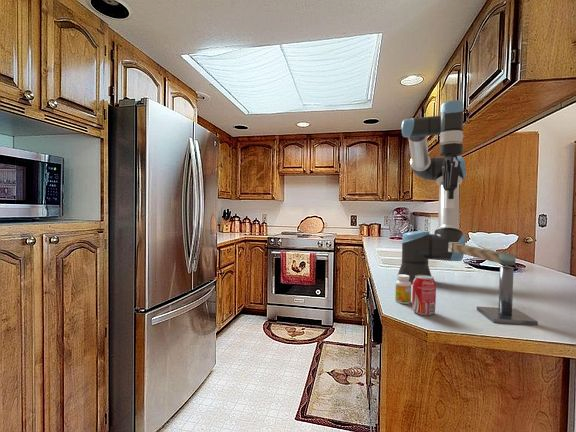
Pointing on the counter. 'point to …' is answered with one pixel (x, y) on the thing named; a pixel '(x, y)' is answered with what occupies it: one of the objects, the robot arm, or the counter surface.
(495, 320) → the post
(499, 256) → the swing arm
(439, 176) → the robot arm
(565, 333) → the counter surface
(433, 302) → the soda can
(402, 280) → the supplement bottle
